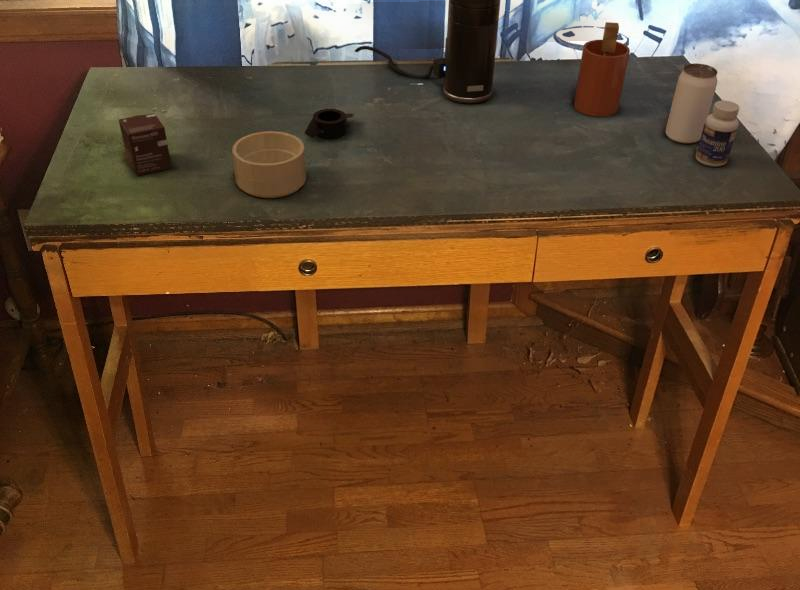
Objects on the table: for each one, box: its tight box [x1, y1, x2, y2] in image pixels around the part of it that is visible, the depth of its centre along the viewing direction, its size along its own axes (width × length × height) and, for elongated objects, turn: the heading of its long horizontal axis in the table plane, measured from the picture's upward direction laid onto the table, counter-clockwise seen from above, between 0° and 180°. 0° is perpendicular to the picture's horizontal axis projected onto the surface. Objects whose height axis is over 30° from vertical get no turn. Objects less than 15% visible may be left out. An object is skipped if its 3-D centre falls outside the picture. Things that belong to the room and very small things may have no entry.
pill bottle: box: [695, 100, 740, 168], centre depth 144 cm, size 5×5×10 cm
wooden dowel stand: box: [601, 21, 620, 56], centre depth 155 cm, size 4×4×15 cm
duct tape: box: [304, 108, 355, 140], centre depth 151 cm, size 8×10×3 cm
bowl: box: [231, 130, 307, 199], centre depth 137 cm, size 11×11×6 cm
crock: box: [573, 39, 631, 117], centre depth 158 cm, size 8×8×11 cm
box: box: [118, 112, 172, 176], centre depth 140 cm, size 6×6×7 cm
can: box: [664, 63, 718, 145], centre depth 149 cm, size 6×6×12 cm
